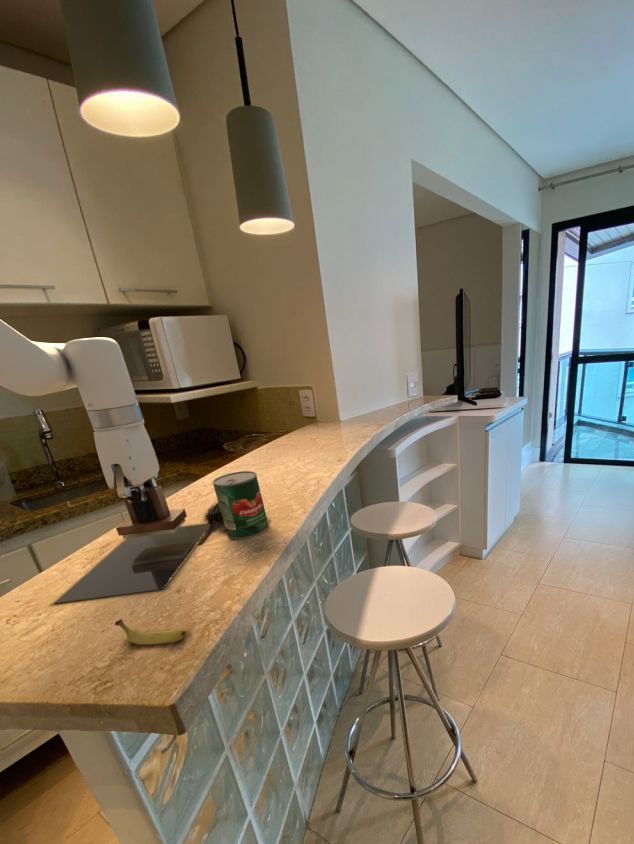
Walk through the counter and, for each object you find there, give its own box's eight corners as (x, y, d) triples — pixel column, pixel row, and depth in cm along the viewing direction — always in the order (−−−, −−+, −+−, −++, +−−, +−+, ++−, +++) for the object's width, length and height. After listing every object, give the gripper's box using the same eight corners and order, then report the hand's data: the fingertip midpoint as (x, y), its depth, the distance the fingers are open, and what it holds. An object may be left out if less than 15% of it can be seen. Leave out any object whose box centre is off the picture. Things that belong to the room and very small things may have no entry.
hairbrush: (246, 475, 105) (241, 503, 82) (249, 489, 107) (245, 520, 84) (213, 482, 104) (198, 512, 81) (217, 495, 105) (203, 529, 82)
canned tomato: (240, 522, 84) (227, 471, 80) (275, 521, 82) (263, 469, 78) (219, 540, 77) (203, 485, 73) (257, 540, 75) (243, 484, 71)
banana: (122, 651, 50) (110, 625, 48) (131, 642, 51) (119, 616, 50) (186, 648, 49) (175, 621, 48) (192, 638, 51) (183, 612, 49)
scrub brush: (120, 539, 74) (104, 498, 70) (136, 526, 79) (122, 487, 76) (176, 533, 74) (162, 491, 71) (188, 519, 79) (176, 481, 76)
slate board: (56, 608, 61) (53, 603, 60) (134, 537, 83) (132, 533, 82) (165, 594, 61) (163, 588, 61) (213, 527, 83) (212, 522, 83)
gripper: (119, 413, 76) (150, 504, 83) (63, 429, 61) (107, 539, 68) (160, 408, 76) (188, 500, 83) (114, 424, 61) (153, 534, 68)
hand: (151, 517), depth 75 cm, fingers closed on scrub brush, 2 cm apart
